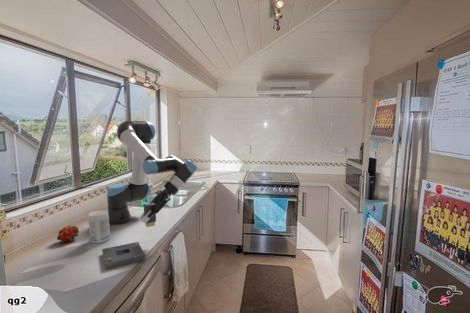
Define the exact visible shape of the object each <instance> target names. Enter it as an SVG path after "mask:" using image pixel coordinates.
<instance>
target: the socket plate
mask: <svg viewBox="0 0 470 313" xmlns="http://www.w3.org/2000/svg"><path fill="white" fill-rule="evenodd" d="M101 251H102V259H103V264H104V269H105V270H110V269H113V268H114V269H115V268H118V267H122V266H126V265H131V264H134V263H139V262H143V261H145V260H146V254H145V252H144V250H143V249H142V247H141V245H140V243H139V242H138V241H134V242H130V243H126V244H120V245H116V246H111V247H106V248H102V250H101Z"/></svg>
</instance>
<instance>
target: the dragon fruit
mask: <svg viewBox="0 0 470 313" xmlns="http://www.w3.org/2000/svg"><path fill="white" fill-rule="evenodd" d="M79 234H80V231H79V227H78V226H76V225H72V226H71V225H67V227H66V226H65V227H63V228H62V229H61V230H59V231H58V236H57V238H56V240H57V241H59V242H60V243H61V244H62V243H66V242H68V241H70V242H72V241H74V239H75V238H77V237H79Z"/></svg>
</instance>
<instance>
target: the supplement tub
mask: <svg viewBox="0 0 470 313" xmlns="http://www.w3.org/2000/svg"><path fill="white" fill-rule="evenodd" d="M87 218H88V230H89V231H88V232H89V242H91V244H100V243H102V244H103V243H105V242H107V241H109V239H110V238H111V233H110V232H111V231H110V230H111V229H110V224H109V214H108V210H96V211H92V212H90V213H89V214H88V216H87Z"/></svg>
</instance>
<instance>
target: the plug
mask: <svg viewBox="0 0 470 313" xmlns="http://www.w3.org/2000/svg"><path fill="white" fill-rule="evenodd" d="M154 206H155V203H150V202H149V203H143V213H144V216H145V215H146V214H147V213H148V212H149V211H150V209H153V207H154ZM156 215H157V213H155V214H154V215H153V216H152V217H151V218H150V219H149V220H148V222H147V223H146V224H145V223H144V224H145V227H146V228H149V227H155V226H156V223H157V216H156Z"/></svg>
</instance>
